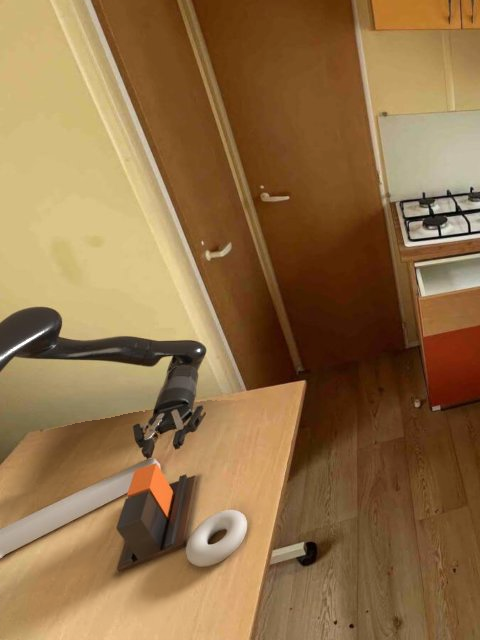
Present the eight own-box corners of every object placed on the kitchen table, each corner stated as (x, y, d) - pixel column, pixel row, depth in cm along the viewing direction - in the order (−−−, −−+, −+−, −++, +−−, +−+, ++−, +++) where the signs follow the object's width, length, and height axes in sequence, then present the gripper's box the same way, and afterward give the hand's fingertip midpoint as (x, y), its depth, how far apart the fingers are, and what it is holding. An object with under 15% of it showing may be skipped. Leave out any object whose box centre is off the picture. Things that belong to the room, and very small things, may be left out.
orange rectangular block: (147, 527, 83) (126, 495, 78) (154, 501, 88) (134, 469, 83) (169, 519, 84) (149, 487, 80) (174, 494, 89) (156, 462, 85)
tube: (155, 449, 96) (-9, 526, 80) (155, 458, 92) (-17, 541, 76) (164, 469, 97) (4, 549, 81) (165, 479, 93) (-3, 565, 77)
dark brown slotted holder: (119, 573, 77) (91, 537, 72) (141, 497, 90) (119, 462, 85) (184, 546, 81) (163, 511, 76) (197, 478, 94) (179, 443, 89)
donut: (189, 583, 76) (252, 548, 81) (182, 572, 74) (246, 538, 79) (189, 535, 83) (247, 506, 88) (183, 524, 81) (241, 496, 86)
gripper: (134, 397, 101) (113, 452, 87) (205, 378, 107) (195, 427, 93) (147, 419, 104) (127, 475, 91) (214, 399, 110) (206, 450, 96)
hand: (162, 450), depth 92 cm, fingers open, 4 cm apart
